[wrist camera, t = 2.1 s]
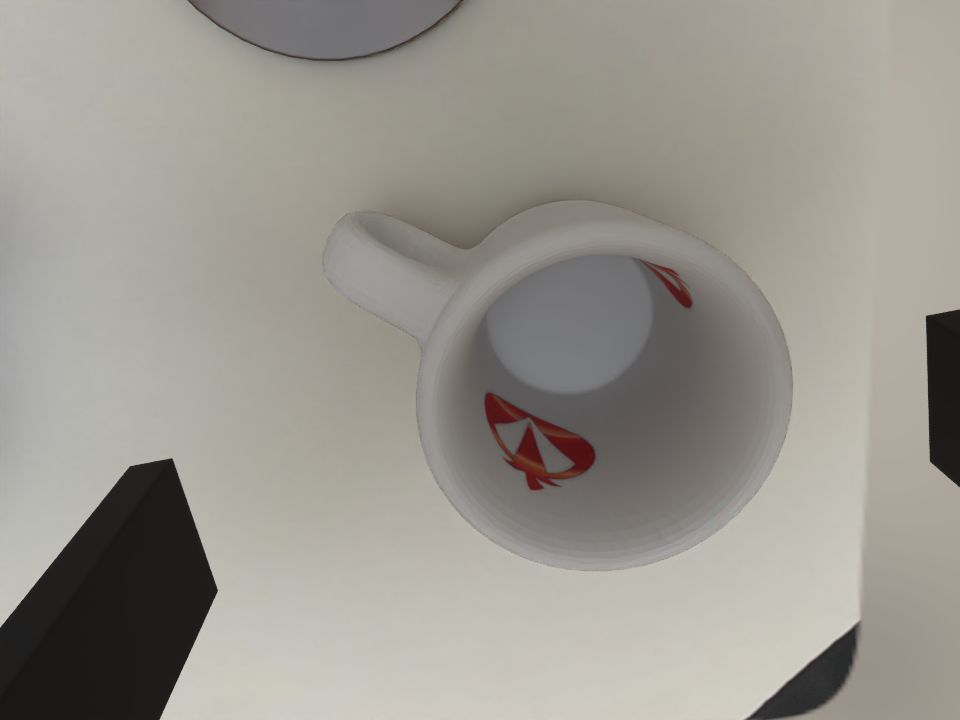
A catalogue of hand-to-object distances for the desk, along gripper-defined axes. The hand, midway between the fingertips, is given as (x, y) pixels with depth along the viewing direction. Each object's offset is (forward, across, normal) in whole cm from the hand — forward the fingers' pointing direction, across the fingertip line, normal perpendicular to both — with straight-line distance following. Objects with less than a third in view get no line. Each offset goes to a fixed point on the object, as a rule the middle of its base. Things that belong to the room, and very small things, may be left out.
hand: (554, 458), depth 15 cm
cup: (+11, 0, 0) cm, 11 cm away
